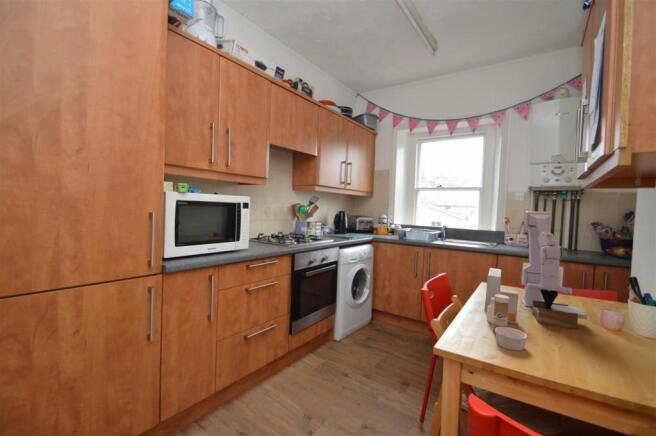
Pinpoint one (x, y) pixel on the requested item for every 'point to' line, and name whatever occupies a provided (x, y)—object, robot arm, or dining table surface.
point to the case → (554, 316)
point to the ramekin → (510, 338)
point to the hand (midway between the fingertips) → (547, 308)
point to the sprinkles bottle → (500, 311)
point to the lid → (569, 310)
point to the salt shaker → (490, 311)
